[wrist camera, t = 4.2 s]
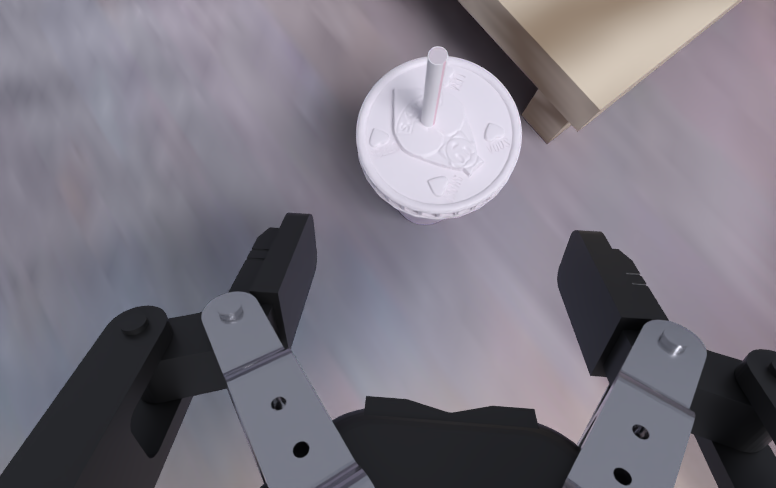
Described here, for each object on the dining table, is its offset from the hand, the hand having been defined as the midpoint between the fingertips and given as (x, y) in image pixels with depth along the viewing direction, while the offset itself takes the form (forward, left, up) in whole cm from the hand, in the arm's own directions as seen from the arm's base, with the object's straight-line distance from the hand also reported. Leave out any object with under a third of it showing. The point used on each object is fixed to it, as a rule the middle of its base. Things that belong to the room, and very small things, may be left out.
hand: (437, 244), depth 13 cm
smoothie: (-3, +3, -12) cm, 13 cm away
